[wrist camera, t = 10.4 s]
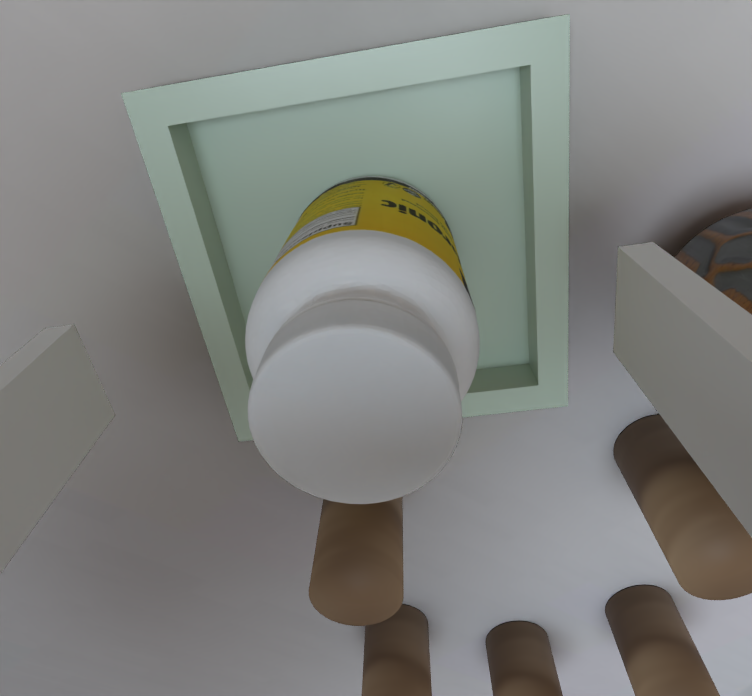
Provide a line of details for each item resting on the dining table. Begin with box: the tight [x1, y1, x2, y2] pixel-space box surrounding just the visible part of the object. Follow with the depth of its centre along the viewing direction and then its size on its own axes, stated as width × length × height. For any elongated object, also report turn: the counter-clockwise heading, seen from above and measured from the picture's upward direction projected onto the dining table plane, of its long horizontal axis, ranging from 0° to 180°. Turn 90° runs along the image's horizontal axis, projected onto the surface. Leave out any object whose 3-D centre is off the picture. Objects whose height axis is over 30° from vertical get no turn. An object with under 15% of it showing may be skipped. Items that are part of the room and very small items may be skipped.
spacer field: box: [309, 415, 752, 696], centre depth 24 cm, size 15×15×6 cm
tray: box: [121, 14, 570, 442], centre depth 19 cm, size 12×12×2 cm
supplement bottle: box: [245, 176, 480, 504], centre depth 15 cm, size 5×5×10 cm
